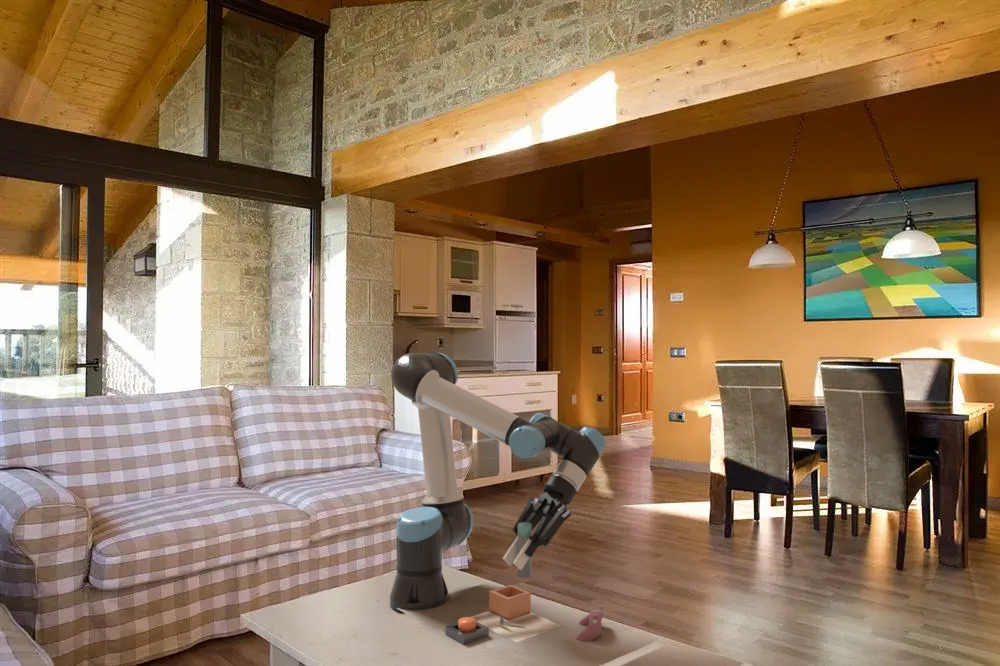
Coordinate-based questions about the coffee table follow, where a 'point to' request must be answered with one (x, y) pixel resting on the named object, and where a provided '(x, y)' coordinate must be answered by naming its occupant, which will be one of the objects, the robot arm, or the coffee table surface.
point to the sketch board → (516, 625)
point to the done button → (466, 624)
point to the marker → (523, 536)
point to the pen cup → (509, 602)
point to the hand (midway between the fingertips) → (511, 564)
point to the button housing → (467, 637)
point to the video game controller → (591, 626)
